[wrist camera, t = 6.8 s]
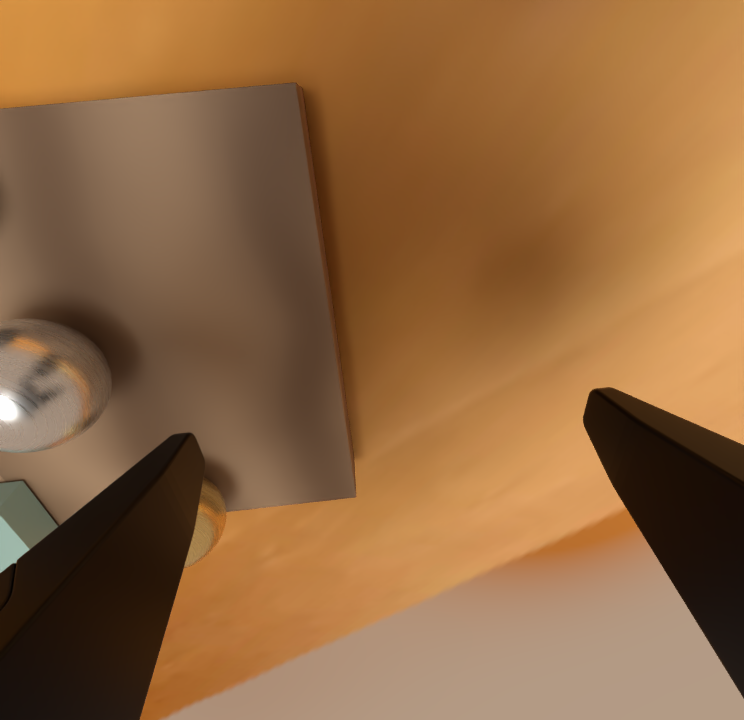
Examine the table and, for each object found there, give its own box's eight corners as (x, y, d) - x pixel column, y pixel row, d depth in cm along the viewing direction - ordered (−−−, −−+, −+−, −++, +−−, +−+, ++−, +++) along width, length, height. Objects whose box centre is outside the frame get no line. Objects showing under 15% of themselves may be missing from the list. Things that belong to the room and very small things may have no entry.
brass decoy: (222, 449, 17) (196, 525, 14) (243, 507, 18) (224, 584, 15) (135, 459, 17) (88, 537, 13) (165, 515, 18) (130, 595, 15)
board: (302, 87, 12) (295, 82, 10) (354, 459, 21) (356, 497, 19) (-439, 154, 12) (-600, 162, 10) (-79, 507, 20) (-126, 551, 18)
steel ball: (104, 291, 13) (20, 354, 9) (150, 392, 15) (95, 474, 11) (-23, 304, 13) (-155, 372, 9) (41, 403, 15) (-47, 490, 11)
